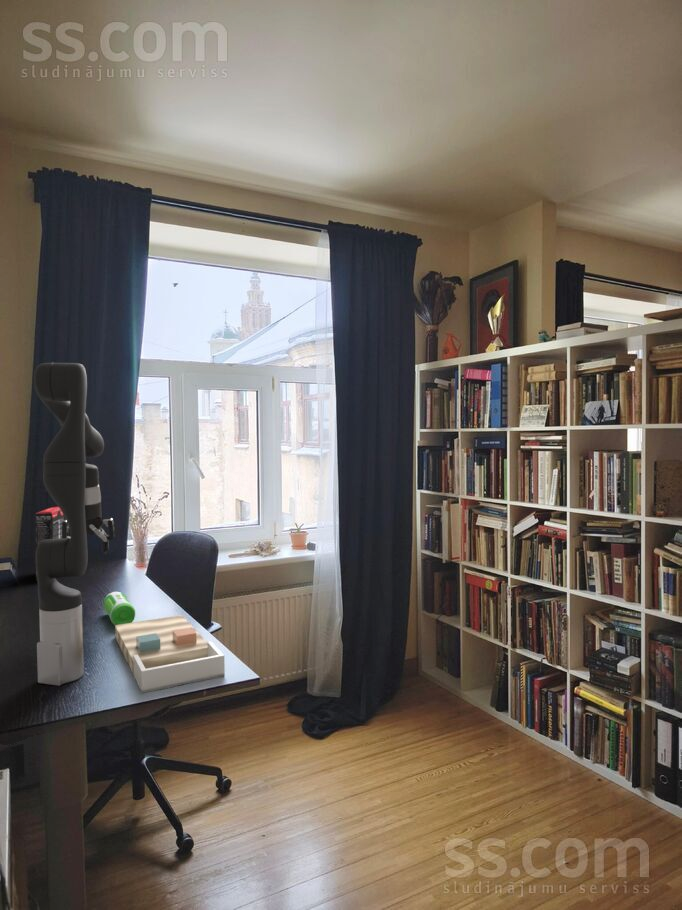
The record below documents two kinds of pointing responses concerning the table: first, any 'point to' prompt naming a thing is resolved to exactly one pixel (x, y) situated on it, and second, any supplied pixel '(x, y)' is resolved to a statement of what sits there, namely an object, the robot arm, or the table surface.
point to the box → (180, 671)
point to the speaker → (119, 608)
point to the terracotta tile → (184, 636)
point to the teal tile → (148, 642)
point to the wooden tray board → (168, 650)
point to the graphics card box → (49, 525)
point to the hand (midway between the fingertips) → (89, 553)
